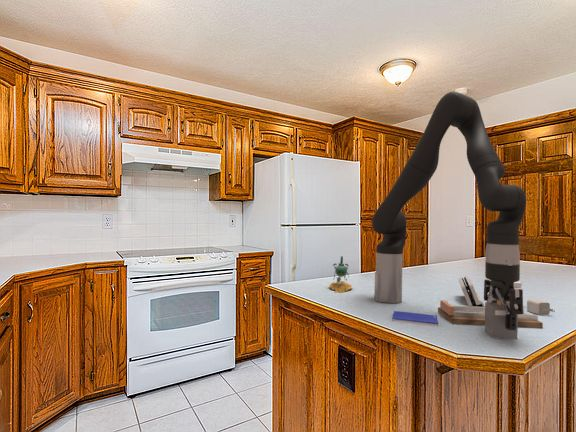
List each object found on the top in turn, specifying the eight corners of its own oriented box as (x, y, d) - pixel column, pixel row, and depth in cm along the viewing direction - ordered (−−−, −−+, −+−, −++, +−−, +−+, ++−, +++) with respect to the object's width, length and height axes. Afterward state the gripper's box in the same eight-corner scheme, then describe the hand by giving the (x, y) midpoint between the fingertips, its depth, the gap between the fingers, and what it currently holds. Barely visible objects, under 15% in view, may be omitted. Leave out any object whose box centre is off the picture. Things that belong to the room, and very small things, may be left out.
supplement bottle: (525, 308, 114) (525, 283, 114) (509, 307, 115) (510, 282, 115) (518, 304, 119) (518, 280, 119) (503, 303, 120) (504, 280, 120)
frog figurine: (354, 285, 148) (355, 252, 147) (350, 299, 131) (351, 262, 130) (333, 283, 151) (333, 251, 149) (326, 297, 134) (326, 260, 132)
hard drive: (437, 314, 101) (393, 310, 105) (438, 322, 93) (392, 317, 98) (436, 320, 101) (393, 315, 105) (438, 328, 93) (392, 322, 98)
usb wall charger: (537, 311, 111) (537, 299, 111) (557, 317, 104) (557, 304, 104) (526, 311, 110) (527, 299, 110) (545, 317, 103) (546, 304, 103)
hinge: (485, 307, 114) (474, 279, 115) (470, 310, 115) (459, 282, 117) (479, 297, 129) (469, 272, 130) (466, 300, 131) (456, 275, 132)
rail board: (452, 323, 95) (452, 308, 95) (437, 312, 107) (438, 298, 107) (542, 328, 93) (542, 312, 93) (517, 315, 105) (517, 301, 105)
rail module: (492, 337, 85) (492, 303, 85) (484, 332, 89) (485, 299, 89) (517, 339, 84) (518, 304, 84) (508, 333, 88) (509, 300, 88)
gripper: (474, 257, 94) (473, 315, 94) (501, 264, 80) (500, 332, 80) (502, 258, 93) (502, 316, 93) (535, 265, 79) (534, 334, 79)
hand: (501, 324), depth 86 cm, fingers open, 8 cm apart
